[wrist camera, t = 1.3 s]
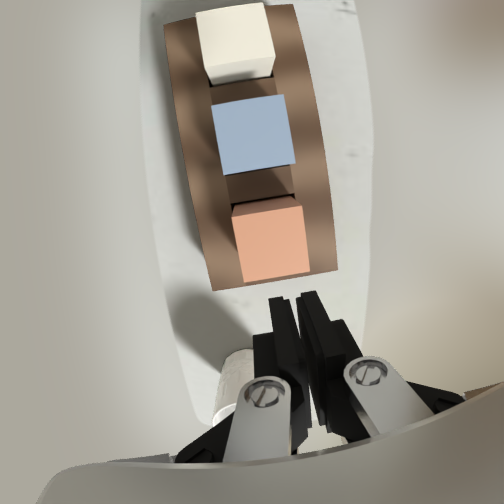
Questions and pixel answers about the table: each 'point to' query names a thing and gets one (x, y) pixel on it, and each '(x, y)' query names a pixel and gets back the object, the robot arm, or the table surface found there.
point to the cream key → (236, 43)
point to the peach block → (270, 238)
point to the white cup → (232, 383)
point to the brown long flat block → (260, 180)
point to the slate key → (253, 134)
